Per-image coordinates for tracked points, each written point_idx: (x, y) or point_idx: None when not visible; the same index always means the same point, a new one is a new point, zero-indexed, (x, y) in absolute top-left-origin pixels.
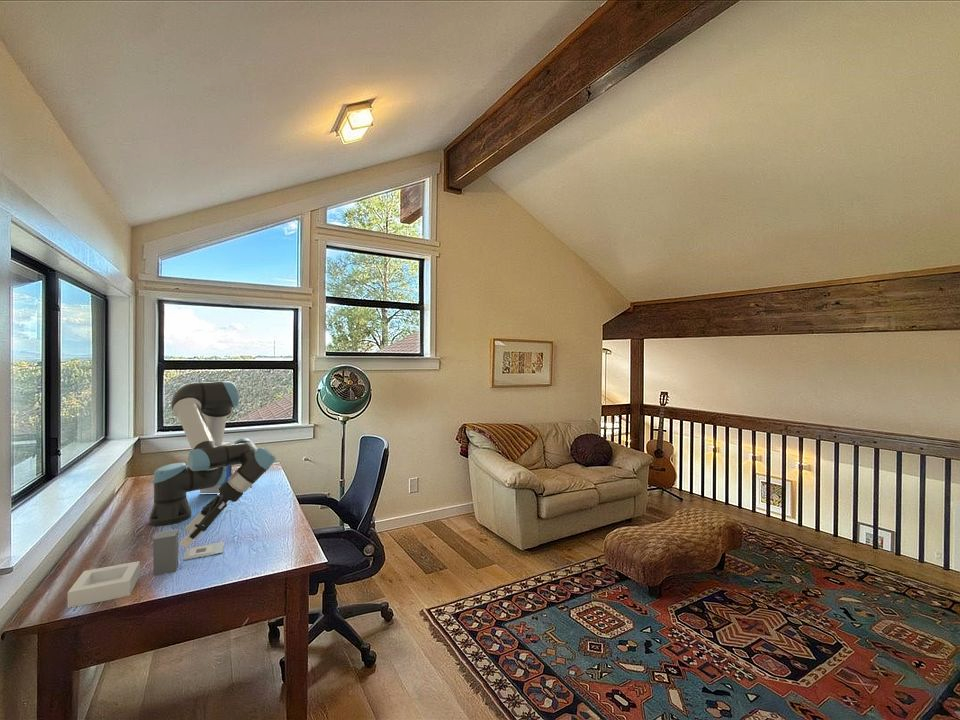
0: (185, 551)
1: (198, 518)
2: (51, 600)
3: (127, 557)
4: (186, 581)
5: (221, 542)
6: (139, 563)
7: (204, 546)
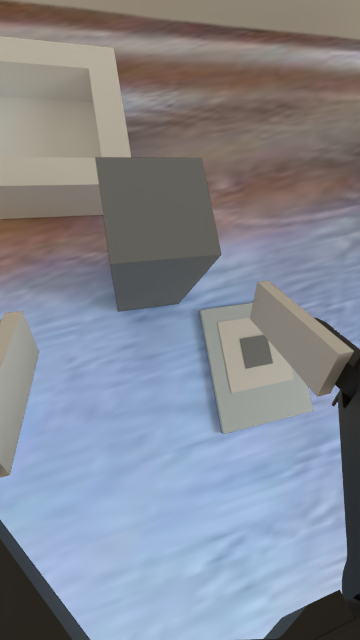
0: None
1: (306, 347)
2: None
3: (268, 157)
4: None
5: (307, 403)
6: None
7: None
